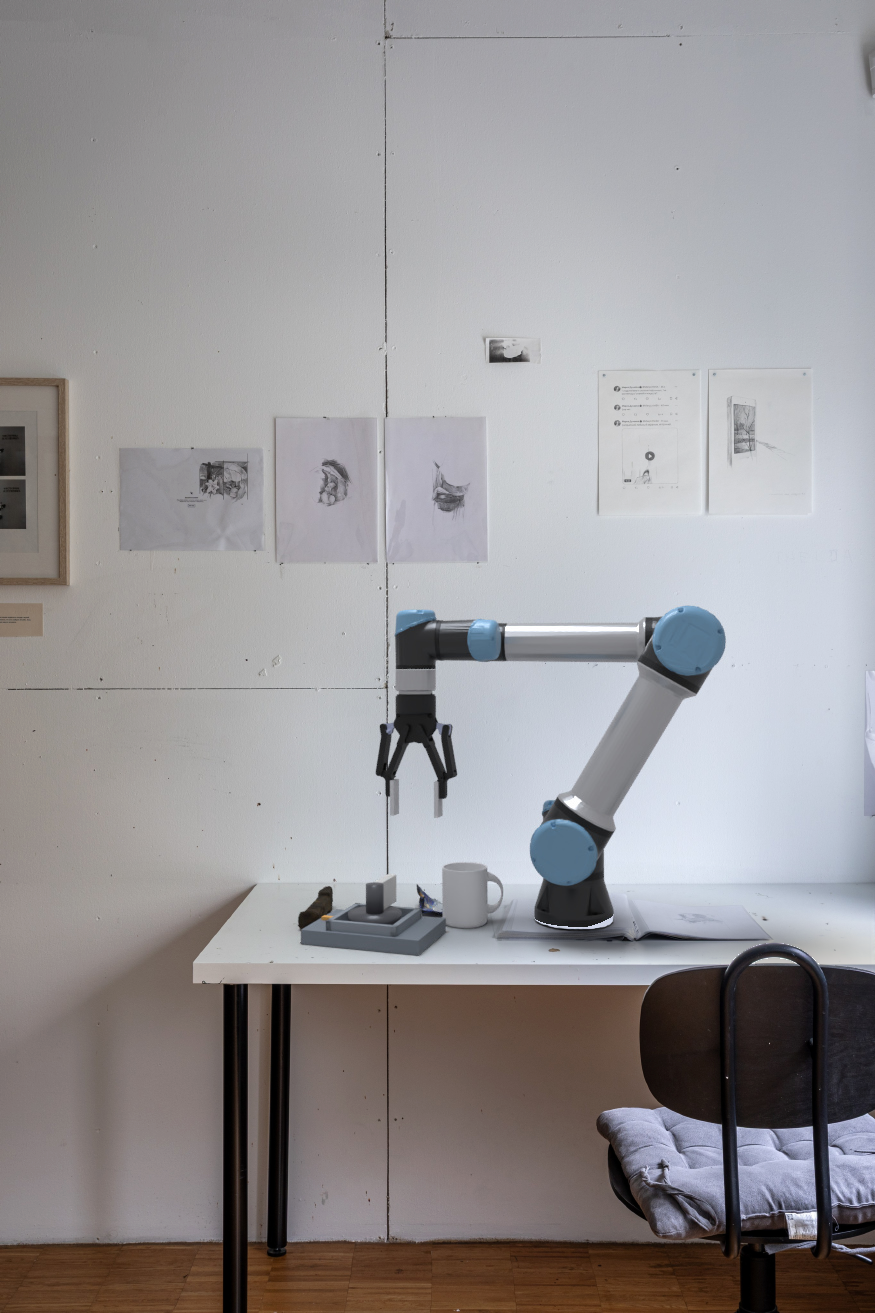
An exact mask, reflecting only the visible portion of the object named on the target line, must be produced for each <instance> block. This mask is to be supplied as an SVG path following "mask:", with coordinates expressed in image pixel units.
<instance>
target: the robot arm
mask: <svg viewBox="0 0 875 1313" xmlns="http://www.w3.org/2000/svg"><path fill="white" fill-rule="evenodd" d="M395 617H396V618H395V632H394V642H395V643H394V644H395V645H394V646H395V648H394V649H395V650H394V651H395V682H394V683H395V692H398V694H396V695H395V718H394V721H392V722H389V723H388V722H385V723H383V722H382V723H381V724H380V725H379V732H380V733H379V734H380V741H379V746H378V747H379V749H378V755H377V761H376V767H375V775H376V776H377V777H381V778H383V779H384V781H385V784H384V785H385V786H384V788H385V790H384V791H385V792H384V793H385V796H386V797H388V798H389V816H390V817H391V816H393V817H394V816H396V815H398V814H400V779H399V778H396V777H397V775H396V774H397V772H398V770H399V768H400V765H401V763H402V760H403V757H404V756H405V752H406V750H407V748H408V746H409V744H413V743H416V744H422V746H423V748H424V749H425V752H426V754H427V756H428V758H429V762H430V764H431V766H432V768H433V770H434V773H435V776H436V778H437V780H435V781H433V818H436V819H438V818H440V817H443V812H444V811H443V807H444V806H443V800H445V799H447V797H448V781H449V780H451V779H453V778H455V777H457V776H458V770H457V764H456V758H455V752H454V745H453V741H452V739H453V738H452V734H453V728H454V727H453V725H452V724H451V723H442V722H441V723H440V722H439V721H438V720H437V696H436V694H434V693H433V692H435V691H436V687H437V686H436V683H437V681H436V680H437V678H436V675H437V670H436V669H437V668H436V663H437V661H440V662H441V661H443V662H444V661H449V662H450V661H451V662H452V661H456V662H457V661H461V662H464V661H468V662H479V663H480V662H482V663H483V662H484V663H488V662H542V663H543V662H548V663H549V662H552V663H553V662H554V663H555V662H556V663H557V662H558V663H561V662H562V663H566V662H567V663H636V665H637V669H638V676H637V677H636V680H635V682H634V683H633V685H632V687H631V688H630V690H629V692H628V693H627V695H626V697H625V699H624V700H623V702H622V704H621V705H620V706H619V707H618V708H619V709H618V710H617V712H616V713H615V715H614V717H613V718H612V721H611V722H610V724H609V726H608V727H607V728H606V730H605V732H604V734H603V736H602V737H601V739H600V741H599V742H598V744H597V746H596V748H595V749H594V750H593V752H592V754H591V756H590V757H589V759H588V760H587V763H586V765H585V766H584V768H583V770H581V773H580V775H579V777H578V778H577V779H576V781H575V783H574V785H573V786H572V788H571V790H569V791H566V792H561V793H558V794H557V796H556V799H548V800H545V801H544V802H543V804H542V811H541V816H542V821H541V823H540V825H539V827H537V828H535V830H534V832H533V834H532V835H531V838H530V842H529V858H530V861H531V863H532V866H533V867H534V869H535V870H536V872H537V873H538V874H539V875H540V876H541V877H542V883H541V885H540V888H539V892H538V895H537V897H536V902H535V904H534V911H533V912H534V913H533V914H534V917H535V919H536V920H538V921H540V922H543V923H546V924H551V925H557V926H568V927H588V926H592V925H595V924H598V923H601V922H603V921H605V920H607V919H609V918H611V917H612V916H613V914H614V915H615V913H614V912H615V911H614V906H613V904H612V901H611V897H610V895H609V892H608V889H607V885H606V882H605V848H606V846H607V845H608V843H609V842H610V840H611V838H612V836H613V835H614V833H615V832H616V830H617V827H616V824H615V820H614V816H615V814H616V813H617V811H618V810H619V807H620V806H621V804H622V802H623V801H624V799H625V797H626V796H627V794H628V793H629V791H630V789H631V787H632V786H633V785H634V783H635V780H636V779H637V778H638V776H639V774H640V772H641V770H643V767H644V766H645V764H646V762H647V761H648V759H649V757H650V756H651V754H652V753H653V751H654V749H655V747H656V746H657V744H658V743H659V741H660V740H661V738H662V736H663V734H664V732H665V731H666V730H667V727H668V726H669V724H670V723H671V721H672V719H673V718H674V716H675V715H676V712H677V710H678V709H679V708H680V706H681V704H682V702H683V701H684V700H685V699H690V698H693V697H696V696H697V695H698V693H699V691H700V690H701V688H702V687H703V685H704V683H705V682H706V681H707V678H708V677H709V675H710V673H711V671H712V670H713V668H714V667H716V666H717V665H718V664H719V662H720V660H721V659H722V657H723V655H724V652H725V650H726V649H725V648H726V642H727V639H726V632H725V630H724V627H723V625H722V622H721V621H720V620H719V619H718V618H717V617H716V615H714V613H711V612H710V611H709V610H708V609H704V608H701V606H700V607H699V606H696V605H682V606H677V607H675V608H671V609H670V610H669V611H667V612H666V613H665V614H664V615H662V616H646V617H642V619H640V620H639V621H638V622H537V623H536V622H508V623H507V622H505V623H503V622H497V620H495V619H484V618H483V619H482V618H476V619H455V620H451V619H450V620H444V619H443V620H442V619H441V620H440V619H438V618H437V616H436V612H435V611H434V610H431V609H403V610H400V611H398V612H397V614H396V616H395ZM395 730H396V732H397V733H398V735H399V737H398V740H397V742H396V746H395V748H394V752H393V754H392V756H391V759H390V761H389V755H390V750H391V743H392V736H393V735H392V734H393V733H394V731H395ZM437 730H438V734H439V736H440V740H441V748H442V753H443V759H444V763H443V761H442V758H441V756H440V753H439V751H438V749H437V746H436V741H435V739H434V737H433V735H434V734H435V732H436V731H437ZM388 762H389V763H388ZM535 919H534V920H535Z"/></svg>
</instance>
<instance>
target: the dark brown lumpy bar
mask: <svg viewBox="0 0 875 1313" xmlns="http://www.w3.org/2000/svg"><path fill="white" fill-rule="evenodd" d="M333 892H334V890H333V887H332V886H330V885H327V886H324V887H323V888H321V889H319V890H318V892H317V897H316V899H315V900H313V902H312V903H311V904H310V905H309V906H308V907H307V908H306V909H305V910H304V911H299V913H298V918H297V923H298V924H297V927H298V928H299V929H300V930H301V929H303V928H305V927H306V926H308V925H310V924H312V923H313V922H315V921H317V920H319V919H320V918H321V917H322V916H324V915H327V914H329V913H331V912H332V911H333V902H334V899H333V894H334V893H333Z"/></svg>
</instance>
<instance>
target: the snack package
mask: <svg viewBox="0 0 875 1313" xmlns="http://www.w3.org/2000/svg"><path fill="white" fill-rule="evenodd" d="M435 886H436V884H435ZM425 891H426V890H425V888H424V889H422V887H421V886H419V884H418V883H416V893H417V895H418V896H419V898H418V906H419V907H418V908H422V915H424V914H429V913H430V914H431V913H437V914H438V915H440V918H443V908H441V909H440V910H441V911H438V910H437V911H436V910H435V907H437V906H438V905H442V901H439V900H438V899H436V898H432V897H430V895H429V894H427V892H425ZM436 905H437V906H436ZM433 908H434V910H433Z"/></svg>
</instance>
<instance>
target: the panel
mask: <svg viewBox="0 0 875 1313" xmlns="http://www.w3.org/2000/svg"><path fill="white" fill-rule="evenodd" d="M363 906H366V903H362V902H361V903H360V902H355V903H354V904H352V905H350V906H348V907H346V908H345V909H341V908H340V909H338V908H336V909H334V910H331V912H330V913H326V915H324V916H322V917H321V918H320V919H319V920H317V921H315V922H313V923H312V924H310V925H308V926H306V927H305V928H303V929H300V944H301V945H307V946H308V945H309V946H317V947H319V946H320V947H329V948H339V949H350V950H359V951H370V952H378V953H388V954H400V955H410V956H420V955H422V953H423V952H424V951H425V950H426V949H428V948H429V947H430V946H431V945H432V944H433V943H435V942H436V941H437V940H438V939H439V938H440V937H442V936H443V935H444V934H445V933H446V932H447V927H446V926H447V925H446V918H443V917H436V916H435V917H434V916H425V915H424V916H423V914H422V908H420V907H407V906H396V905H390V906H391V907H395V908H398V909H400V910H401V919H400V920H399V921H397V922H396V923H395V924H393V925H387V924H375V923H364V922H353V921H348V912H349V911H350V910H352V909H354V908H358V907H363Z"/></svg>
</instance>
